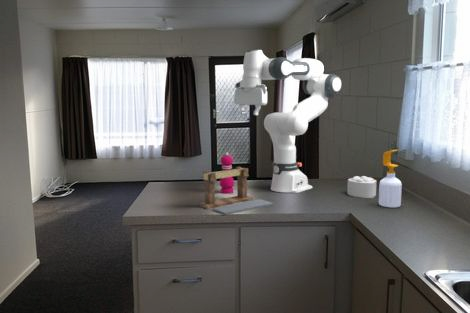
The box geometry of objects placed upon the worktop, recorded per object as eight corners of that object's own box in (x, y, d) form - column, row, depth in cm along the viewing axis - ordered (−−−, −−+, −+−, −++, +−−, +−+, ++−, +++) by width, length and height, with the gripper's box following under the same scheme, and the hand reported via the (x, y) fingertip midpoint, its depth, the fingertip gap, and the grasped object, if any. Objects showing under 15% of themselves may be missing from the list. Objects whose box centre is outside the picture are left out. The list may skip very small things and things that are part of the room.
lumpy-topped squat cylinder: (372, 198, 202) (372, 180, 200) (344, 195, 208) (345, 177, 207) (377, 194, 211) (377, 176, 209) (350, 191, 217) (351, 174, 216)
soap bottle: (390, 208, 183) (392, 151, 180) (374, 204, 191) (376, 148, 188) (405, 206, 187) (408, 149, 184) (388, 201, 195) (391, 147, 192)
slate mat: (259, 200, 198) (259, 199, 198) (272, 204, 191) (272, 202, 191) (212, 210, 183) (212, 208, 183) (225, 214, 176) (225, 212, 176)
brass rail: (243, 173, 201) (243, 167, 201) (247, 174, 199) (247, 168, 198) (203, 179, 188) (203, 173, 187) (207, 180, 185) (207, 174, 185)
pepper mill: (232, 194, 212) (232, 153, 209) (218, 193, 213) (217, 153, 211) (235, 190, 219) (235, 151, 216) (221, 190, 220) (221, 151, 218)
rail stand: (243, 197, 205) (243, 166, 203) (252, 200, 200) (252, 167, 198) (198, 205, 190) (198, 172, 188) (207, 209, 185) (207, 174, 183)
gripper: (271, 85, 194) (269, 116, 195) (243, 85, 210) (240, 114, 211) (261, 83, 190) (258, 115, 191) (232, 84, 206) (230, 113, 207)
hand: (249, 114), depth 201 cm, fingers open, 8 cm apart
